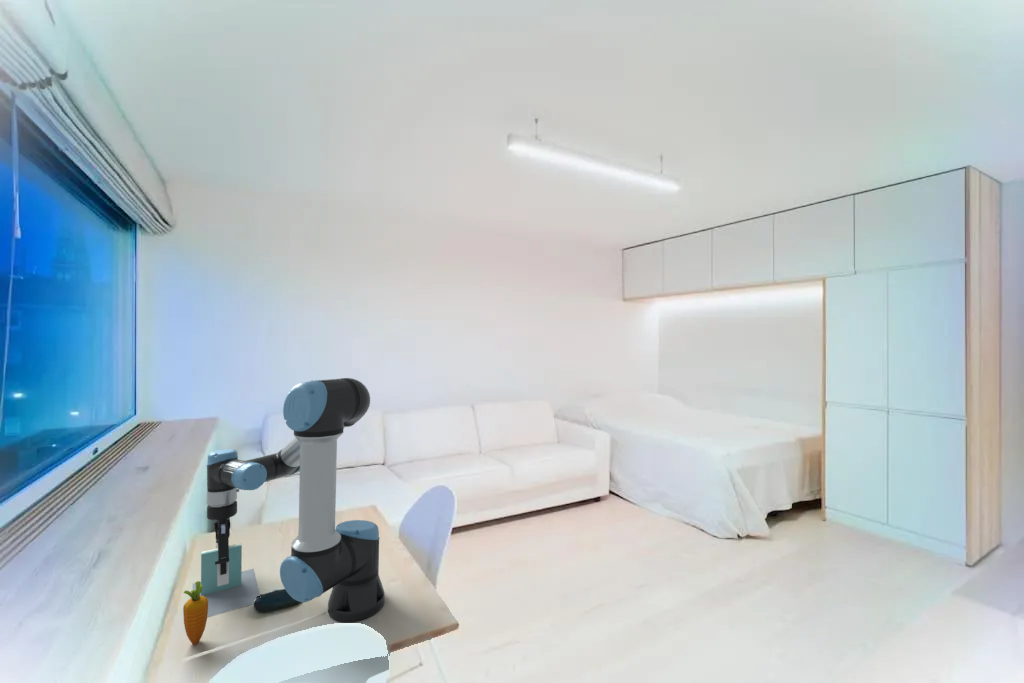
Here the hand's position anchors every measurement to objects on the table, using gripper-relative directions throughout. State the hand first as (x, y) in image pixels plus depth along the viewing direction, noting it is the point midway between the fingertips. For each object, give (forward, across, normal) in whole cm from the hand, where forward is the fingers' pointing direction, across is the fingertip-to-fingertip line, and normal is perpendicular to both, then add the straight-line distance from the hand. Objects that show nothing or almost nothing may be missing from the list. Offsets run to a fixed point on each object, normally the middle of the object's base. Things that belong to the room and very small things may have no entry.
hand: (222, 574), depth 132 cm
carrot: (+5, -24, +6) cm, 25 cm away
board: (+4, 0, 0) cm, 4 cm away
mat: (+5, -3, -1) cm, 6 cm away
